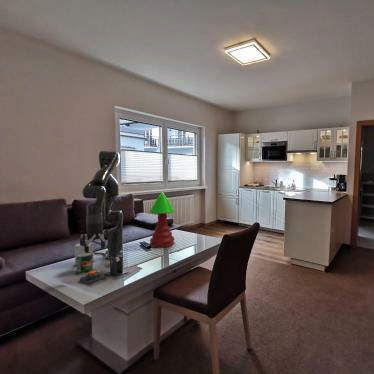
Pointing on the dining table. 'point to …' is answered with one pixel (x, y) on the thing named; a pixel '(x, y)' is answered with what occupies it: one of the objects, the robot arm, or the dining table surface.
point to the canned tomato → (84, 262)
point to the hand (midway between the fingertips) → (94, 250)
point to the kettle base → (116, 267)
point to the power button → (92, 272)
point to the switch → (109, 263)
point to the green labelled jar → (80, 249)
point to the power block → (92, 278)
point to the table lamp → (162, 223)
